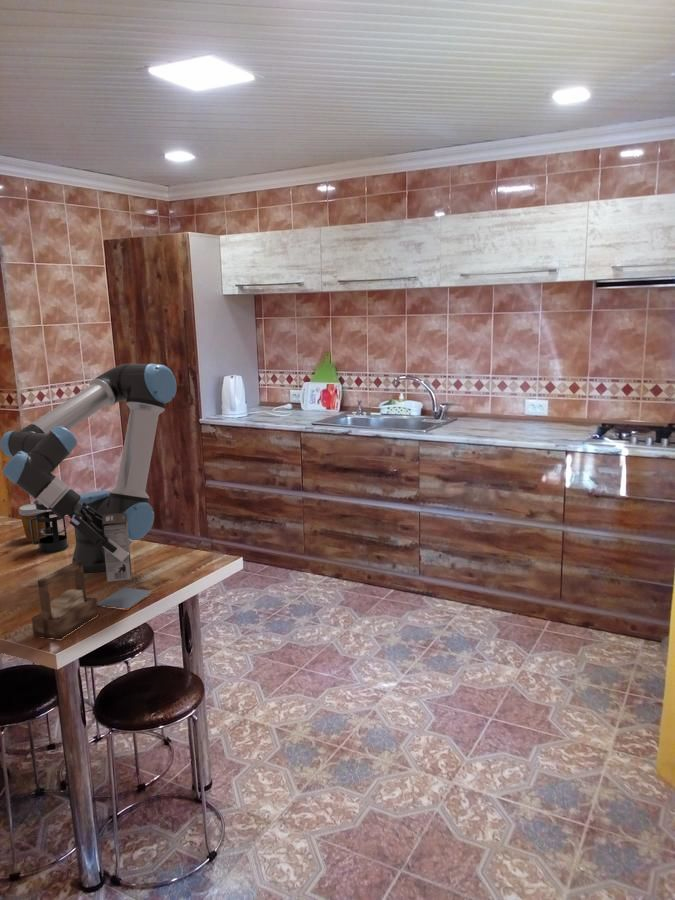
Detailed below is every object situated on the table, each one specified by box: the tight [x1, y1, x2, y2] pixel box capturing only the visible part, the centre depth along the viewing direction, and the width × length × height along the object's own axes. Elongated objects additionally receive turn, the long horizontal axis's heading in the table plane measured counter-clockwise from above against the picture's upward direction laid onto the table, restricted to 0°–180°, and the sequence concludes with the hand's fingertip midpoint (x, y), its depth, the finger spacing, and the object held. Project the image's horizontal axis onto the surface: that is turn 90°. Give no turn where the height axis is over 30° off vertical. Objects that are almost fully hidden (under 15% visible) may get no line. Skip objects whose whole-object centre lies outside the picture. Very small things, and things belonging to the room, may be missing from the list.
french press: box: [30, 483, 69, 554], centre depth 226 cm, size 12×9×23 cm
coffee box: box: [102, 513, 132, 583], centre depth 181 cm, size 9×6×16 cm
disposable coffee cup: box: [18, 502, 48, 543], centre depth 237 cm, size 10×10×12 cm
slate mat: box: [97, 586, 153, 609], centre depth 185 cm, size 12×10×1 cm
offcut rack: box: [31, 560, 99, 639], centre depth 168 cm, size 14×8×15 cm, turn 161°
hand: (127, 551), depth 182 cm, fingers closed on coffee box, 9 cm apart
